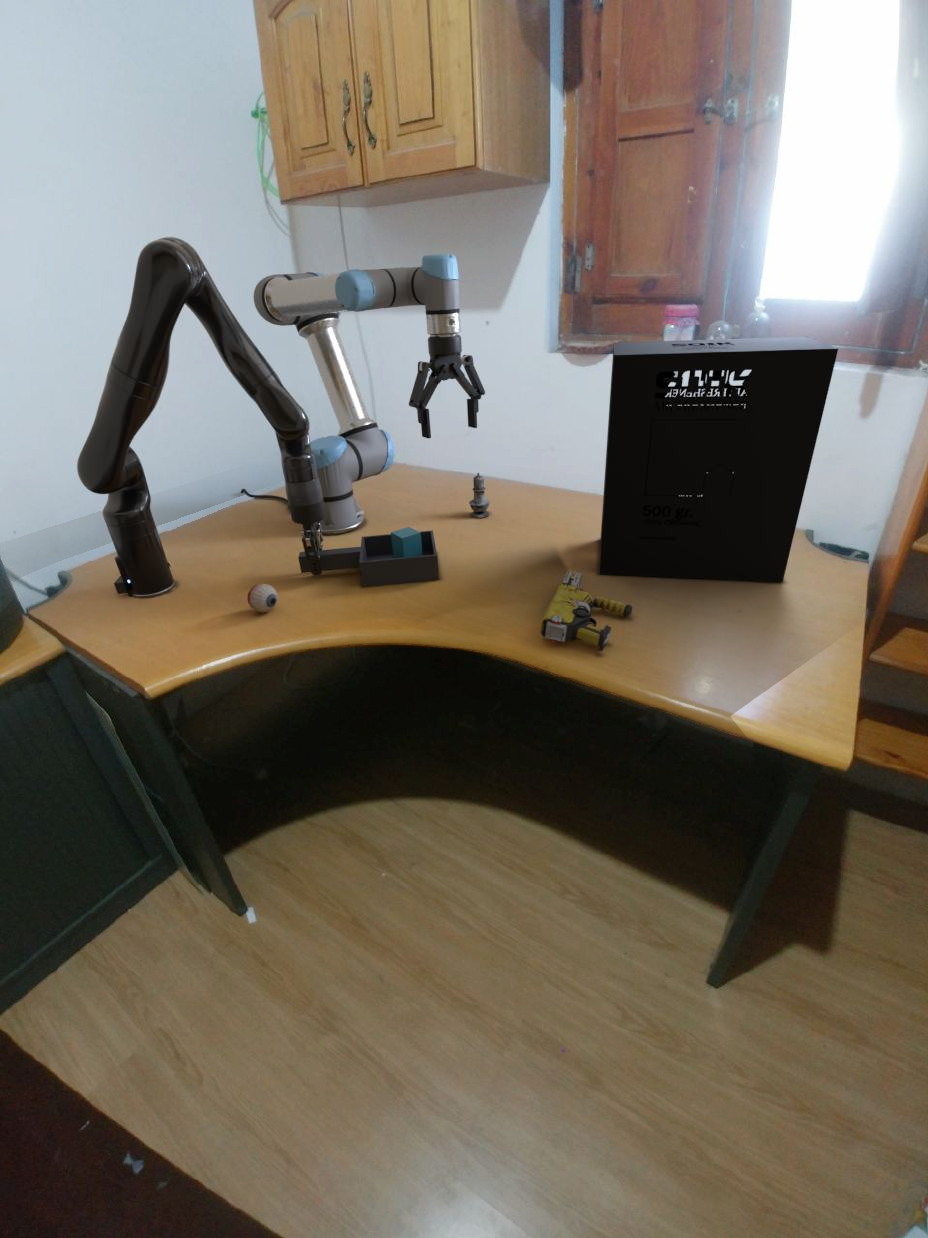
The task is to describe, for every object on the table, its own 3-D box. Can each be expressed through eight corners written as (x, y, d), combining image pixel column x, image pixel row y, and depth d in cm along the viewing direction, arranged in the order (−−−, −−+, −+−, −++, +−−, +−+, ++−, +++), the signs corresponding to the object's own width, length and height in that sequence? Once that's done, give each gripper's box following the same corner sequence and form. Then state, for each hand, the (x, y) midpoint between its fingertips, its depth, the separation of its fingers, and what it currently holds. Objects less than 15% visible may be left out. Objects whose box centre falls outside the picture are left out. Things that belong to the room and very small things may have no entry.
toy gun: (638, 581, 123) (566, 568, 127) (626, 636, 103) (540, 619, 107) (633, 601, 126) (563, 588, 130) (621, 659, 106) (537, 641, 110)
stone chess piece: (488, 518, 168) (487, 475, 162) (467, 517, 169) (465, 475, 163) (491, 510, 173) (490, 469, 167) (471, 510, 174) (469, 469, 168)
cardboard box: (762, 543, 144) (806, 336, 121) (782, 581, 126) (838, 348, 104) (600, 538, 151) (613, 342, 129) (599, 574, 134) (614, 354, 112)
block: (394, 563, 142) (390, 532, 138) (411, 557, 145) (408, 526, 141) (405, 570, 139) (402, 538, 135) (423, 564, 142) (420, 532, 138)
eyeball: (265, 620, 124) (259, 594, 121) (245, 613, 127) (238, 588, 124) (287, 607, 128) (281, 582, 125) (266, 601, 131) (260, 576, 128)
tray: (434, 552, 149) (432, 530, 146) (439, 579, 136) (437, 555, 133) (307, 564, 147) (302, 541, 144) (299, 593, 134) (294, 568, 131)
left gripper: (319, 507, 125) (332, 580, 134) (325, 487, 138) (337, 554, 146) (283, 511, 125) (298, 584, 133) (292, 489, 137) (305, 557, 146)
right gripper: (405, 341, 125) (414, 444, 136) (498, 330, 138) (500, 425, 148) (387, 339, 131) (397, 439, 141) (478, 328, 143) (481, 420, 154)
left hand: (318, 568), depth 140 cm, fingers open, 5 cm apart
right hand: (450, 432), depth 145 cm, fingers open, 13 cm apart
